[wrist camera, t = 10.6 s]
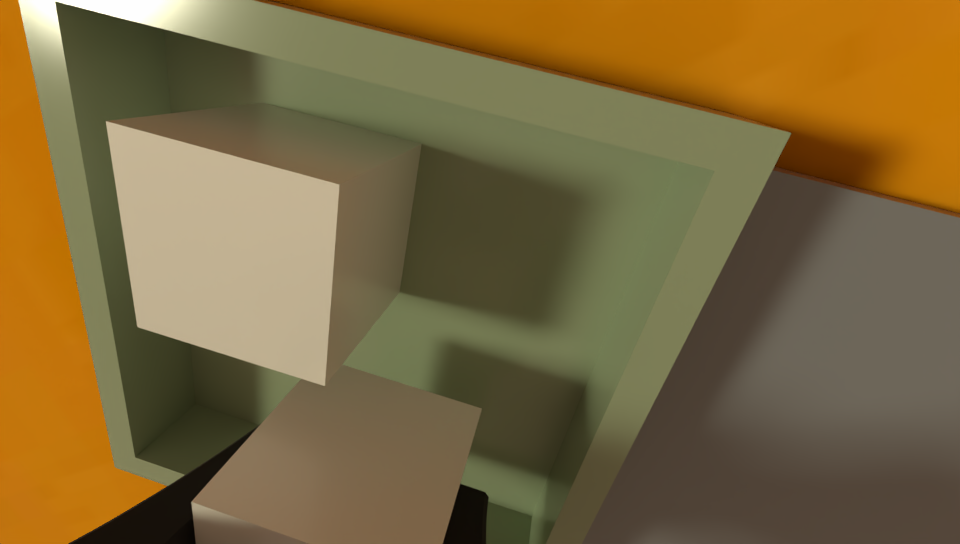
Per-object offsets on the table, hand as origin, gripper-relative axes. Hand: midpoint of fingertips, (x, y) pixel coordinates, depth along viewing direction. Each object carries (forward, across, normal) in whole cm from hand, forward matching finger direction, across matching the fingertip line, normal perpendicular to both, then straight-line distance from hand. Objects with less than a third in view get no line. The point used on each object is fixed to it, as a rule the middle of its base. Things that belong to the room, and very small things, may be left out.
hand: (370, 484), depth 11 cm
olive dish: (+4, +2, -2) cm, 5 cm away
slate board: (+4, -11, -2) cm, 12 cm away
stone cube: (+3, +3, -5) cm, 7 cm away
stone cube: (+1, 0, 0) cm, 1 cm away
